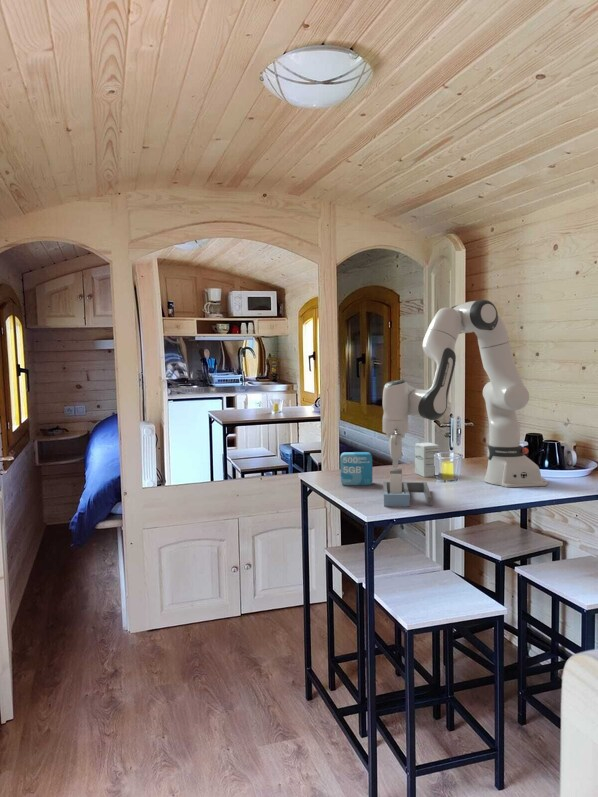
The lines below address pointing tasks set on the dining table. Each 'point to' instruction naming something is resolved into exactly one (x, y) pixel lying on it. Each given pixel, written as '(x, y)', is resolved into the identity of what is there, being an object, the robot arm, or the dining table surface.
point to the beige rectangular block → (395, 481)
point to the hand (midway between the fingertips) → (395, 466)
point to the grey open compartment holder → (405, 494)
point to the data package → (356, 468)
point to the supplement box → (425, 458)
